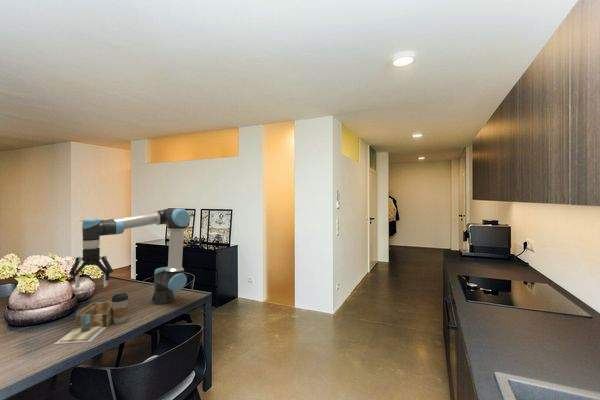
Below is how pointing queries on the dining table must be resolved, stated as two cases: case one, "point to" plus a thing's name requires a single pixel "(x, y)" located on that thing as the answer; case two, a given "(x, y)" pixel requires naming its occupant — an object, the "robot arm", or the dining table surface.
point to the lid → (82, 331)
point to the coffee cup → (119, 308)
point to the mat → (82, 341)
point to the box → (97, 314)
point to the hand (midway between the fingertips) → (91, 286)
